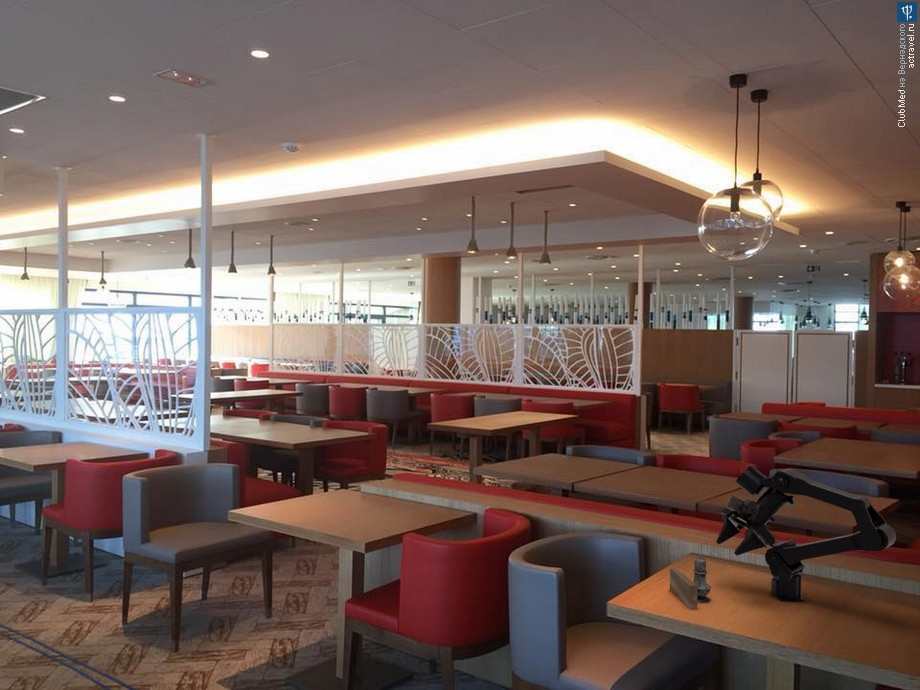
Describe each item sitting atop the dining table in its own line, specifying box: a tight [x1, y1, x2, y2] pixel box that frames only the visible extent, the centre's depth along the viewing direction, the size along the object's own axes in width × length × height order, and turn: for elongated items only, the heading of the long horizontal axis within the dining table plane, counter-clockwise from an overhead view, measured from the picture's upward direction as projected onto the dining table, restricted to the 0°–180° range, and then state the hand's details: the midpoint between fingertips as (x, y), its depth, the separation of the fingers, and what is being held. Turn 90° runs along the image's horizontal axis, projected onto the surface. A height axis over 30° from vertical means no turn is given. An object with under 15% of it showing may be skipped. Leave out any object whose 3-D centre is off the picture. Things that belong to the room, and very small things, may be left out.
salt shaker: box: [692, 553, 712, 604], centre depth 205 cm, size 6×6×12 cm
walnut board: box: [669, 568, 698, 610], centre depth 205 cm, size 2×14×6 cm, turn 5°
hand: (726, 548), depth 208 cm, fingers open, 9 cm apart
